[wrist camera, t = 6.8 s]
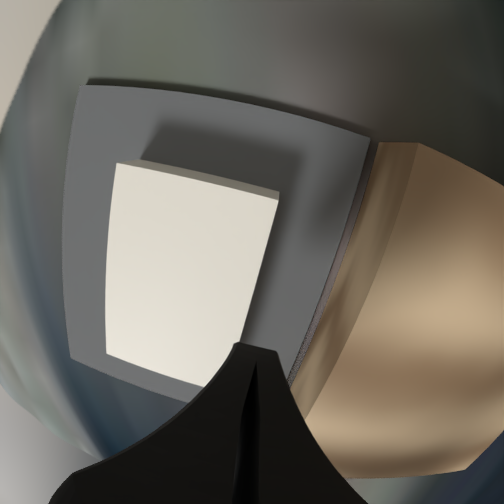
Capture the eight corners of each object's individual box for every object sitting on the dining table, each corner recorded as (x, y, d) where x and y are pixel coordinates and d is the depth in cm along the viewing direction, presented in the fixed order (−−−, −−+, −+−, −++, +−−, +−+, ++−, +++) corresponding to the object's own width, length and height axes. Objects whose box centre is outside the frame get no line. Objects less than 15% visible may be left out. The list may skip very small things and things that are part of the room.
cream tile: (106, 353, 13) (123, 332, 15) (224, 392, 13) (230, 365, 15) (116, 162, 10) (139, 159, 12) (278, 200, 10) (279, 191, 12)
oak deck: (449, 431, 17) (464, 469, 13) (275, 418, 17) (272, 471, 13) (560, 236, 11) (601, 259, 7) (378, 142, 11) (418, 142, 8)
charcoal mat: (267, 417, 17) (267, 421, 16) (73, 354, 17) (70, 358, 17) (368, 138, 11) (370, 138, 11) (84, 85, 11) (80, 85, 11)
